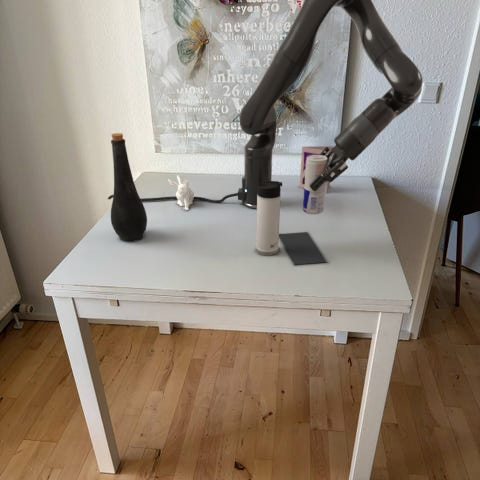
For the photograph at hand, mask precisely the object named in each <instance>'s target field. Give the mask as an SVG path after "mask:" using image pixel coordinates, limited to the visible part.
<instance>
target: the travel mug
mask: <svg viewBox="0 0 480 480" xmlns="http://www.w3.org/2000/svg"><path fill="white" fill-rule="evenodd" d="M282 187H283V182H282V181H277V180H271V181H267V182H263V183H261V184H259V185H258V194H257V196H258V197H257V209H256V252H257V253H258V254H259V255H262V256H273V255H276V254H277V253H278V252H279V242H280V240H279V239H280V237H279V234H280V220H281V219H280V217H281V196H282V195H281V191H282V189H281V188H282Z"/></svg>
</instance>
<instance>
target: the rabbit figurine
mask: <svg viewBox="0 0 480 480" xmlns="http://www.w3.org/2000/svg"><path fill="white" fill-rule="evenodd" d="M176 178H177V182H176V181H174V180H171V179H170V178H168V179H167V181H168V184H169V185H170V186H174V187H177V191H176V192H175V196H176V197H177V199H176V200H177V202H176V204H177V205H179V206H180V207H183V208H182V209H183V210H184V211H189V207H190V206H191V205H192V204H194V203H193V200H195V199H194V197H195V192H194V190H192V189H191V187H190V186H189V181H188V179H186V180H182V179H181V178H180V175H177V176H176Z"/></svg>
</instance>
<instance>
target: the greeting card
mask: <svg viewBox="0 0 480 480" xmlns="http://www.w3.org/2000/svg"><path fill="white" fill-rule="evenodd" d="M326 147H328V148H329V149H332V148H333V147H334V146H301V157H300V158H301V159H300V172H299V173H300V174H299V188H301V189H304V185H305V180H304V179H303V178H304V176H305V171H306V160H307V157H308V156H311V155H319V154H320V153H321V152H322V151H323V150H324V149H325V148H326ZM330 186H331V183H330V182H329V181H328V182H326V184H325V194H327V193H328V188H330Z"/></svg>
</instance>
